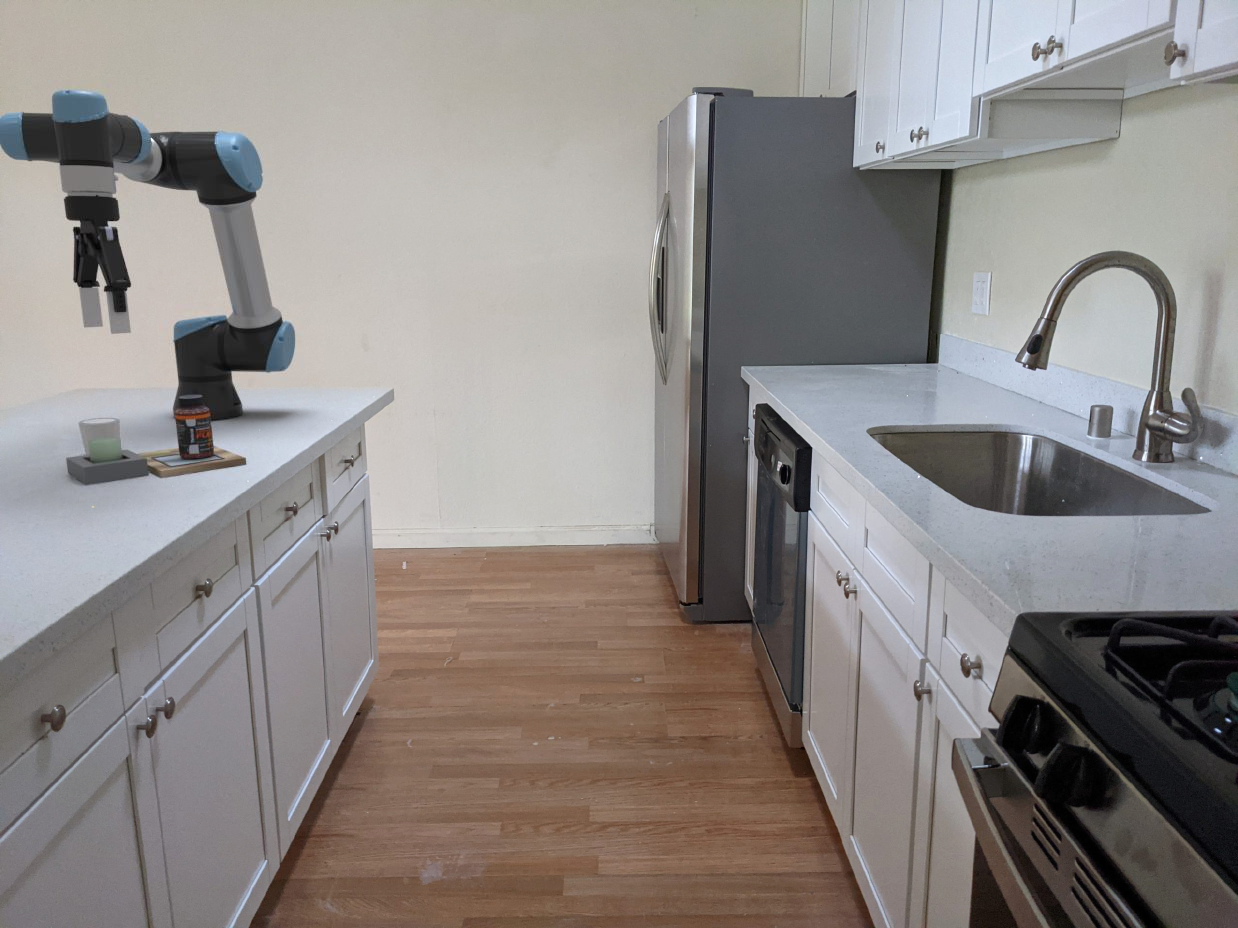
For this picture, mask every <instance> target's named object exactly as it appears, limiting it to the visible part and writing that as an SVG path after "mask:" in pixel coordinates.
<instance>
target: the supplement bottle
mask: <svg viewBox="0 0 1238 928" xmlns="http://www.w3.org/2000/svg"><path fill="white" fill-rule="evenodd" d="M179 404H180V406H179V408H178V409H176V411H175V418H174V419H175V420H174V421H175V429H176V437H177V444H178V445H177V446H178V447H177V448H179V454H180V456H181V457H182V458H185V459H199V458H205V457H209V456H211V455H213V453H214V446H215V445H214V439H213V437H214V436H213V429H212V420H211V418H210V417H211V416H210V410H209V408H207V407H206V406H205V405H204V404H203V397H202V395H184V396H180V397H179Z"/></svg>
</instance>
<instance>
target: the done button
mask: <svg viewBox="0 0 1238 928" xmlns="http://www.w3.org/2000/svg"><path fill="white" fill-rule="evenodd" d="M88 447H89V455H90V462H91V463H93V464H95V463H102V462H109V461H116V460H123V457H122V450H123V449H122V441H121V438H120V439H119V438H100V439H94V440H90V441H88Z"/></svg>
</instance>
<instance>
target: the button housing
mask: <svg viewBox="0 0 1238 928" xmlns="http://www.w3.org/2000/svg"><path fill="white" fill-rule="evenodd" d="M138 454H139V453H136V452H133V451H131V450H129V449H122V457H123V460H116V461H109V462H102V463H95V464H93V463H91V462H90V455H86V454H84V455H77V456H70V457H69V456H68V457H66V459H65V461H66V468H67V474H69V476H70V477H72V478H74V479H75V478H76V480H77V481H79V482H80V483H82V484H84V485H85V486H88V485H92V484H100V483H106V482H107V481H108V482H112V481H113V482H115V481H119V480H126V479H131V478H133V479H134V478H139V477H138V476H140V477H145V476H144V475H146V476H149V471H148V465H147V458H145V457H142V456H140V455H138Z"/></svg>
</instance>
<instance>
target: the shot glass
mask: <svg viewBox="0 0 1238 928" xmlns="http://www.w3.org/2000/svg"><path fill="white" fill-rule="evenodd" d="M120 422H121V420H120V419H119V418H115V417H114V418H113V417H99V418H98V417H97V418H91V419H89V418H88V419H85V420H79V421H78V423H77V424H78V427H79V431H80V435H81V436H80V437H81V439H82V444H83V448H84V453H85V454H84V455H89V447H88V441H90V440H94V439H100V438H119V439H120V440H121V437H120V436H121V435H120V433H121V431H120V430H121V428H120V427H121V425H120Z"/></svg>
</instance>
